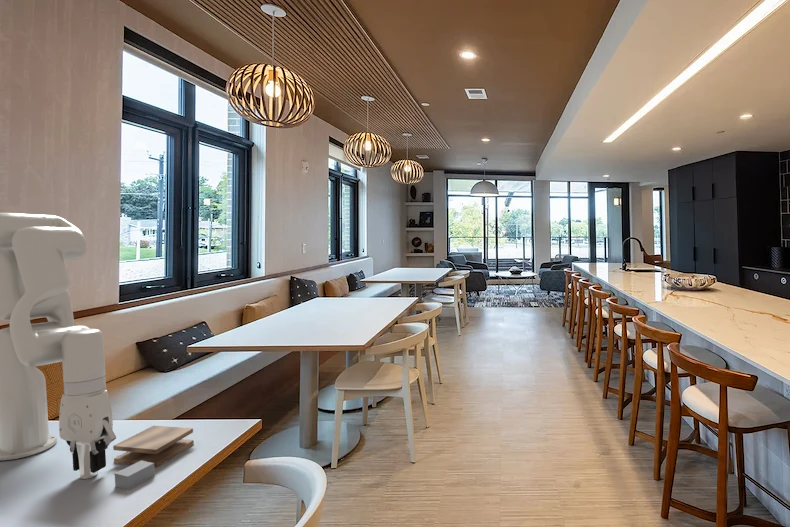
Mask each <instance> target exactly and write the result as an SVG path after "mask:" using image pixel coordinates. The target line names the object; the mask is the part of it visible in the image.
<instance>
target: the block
mask: <svg viewBox="0 0 790 527" xmlns="http://www.w3.org/2000/svg"><path fill="white" fill-rule="evenodd" d="M153 477H155V467H154V463H151V462H146V461H139V462H137V463H135V464H133V465H131V464H130V465H129V466H127V467H125V468H123V469H121V470H119V471H117V472H115V473H114V486H115V488H120V489H124V490H128V491H129V490H131V489H133V488H135V487H137V486H139V485H140V484H142V483H143V482H146V481H147V480H149V479H151V478H153Z"/></svg>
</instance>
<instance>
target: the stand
mask: <svg viewBox="0 0 790 527" xmlns="http://www.w3.org/2000/svg"><path fill="white" fill-rule="evenodd" d="M193 433H194V428H193V427H192V428H191V427H180V426H179V427H177V426H165V425H163V426H162V425H151V426H150V427H148V428H145V429H144V430H142V431H140V432H138V433H136V434H134V435H132V436H130V437H128V438H126V439H124V440H122V441H120V442H118V443H116V444H114V445H112V446H113V447H112V448H113V451H117V452H118V451H119V452H120V451H121V452H123V453H122V454H119V455H118V456H116V457H114V458H113V463H114V464H123V465H130V466H131V465H133V464H135V463H137V462H139V461H146V462H151V463H154V468H158V467H160V466H161V465H162V464H165V463H166V462H167V461H169V460H171V459H173V458H174V457H176V456H177V455H179V454H180V453H182V452H183V451H185V450H186V449H188V448H190V447H191V446H193V445H194V444H195V442H194V440H193V439H186V437H188V436H189V435H191V434H193Z"/></svg>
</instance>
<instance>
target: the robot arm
mask: <svg viewBox="0 0 790 527" xmlns="http://www.w3.org/2000/svg"><path fill="white" fill-rule="evenodd" d="M87 251H88V242H87V240H86V237H85V235H84V233H83V232H82V231H81V229H79V228H78V227H77V226H76V225H74V224H73V223H71V222H69V221H67V219H65V218H63V217H61V216H57V215H53V214H38V213H35V214H34V213H19V212H0V321H4V322H9V326H8V327H4V328H1V329H0V461H11V460H18V459H21V458H25V457H30V456H33V455H36V454H39V453H42V452H45V451H46V450H48V449H50V448H52V447H53V446H55V445H56V443H57V442H58V441H57V440H58V439H57V436H56V435H53V434H49V433H50V432H49V416H48V413H49V412H48V400H47V399H48V397H47V396H48V395H47V383H46V382H47V381H46V380H47V379H46V377H45V374H44V373H43V371H42V370H40V369H39V368H38V367H41V366H46V365H50V364H51V365H52V364H55V363H61V362H62V378H63V379H62V381H63V393H62V395H61V399H60V404H59V413H58V414H59V415H58V417H59V418H58V419H59V421H58V423H59V424H58V431H59V438H60V439H61V440H63V441H65V442H66V444H67V445H68V446H69V451H70V453H71V455H72V470H73V471H76V472H77V471H78V470H79V463H78V454H77V447H76V442H90V444H91V449H92V453H93V454H91V455H90V466H91V472H92V473H95V472H97V471H98V472H99V471H100V470H101V469H104V468H106V466H107V458H106V457H107V456H106V450H107V449H108V447H109V445H110V444H111V443H112V442H114V441H115V440H116V439H117V436H116V433H115V432H114V430H113V425H114V424H113V423H114V422H113V421H114V420H113V413H112V412H113V411H112V406H111V400H110V396H109V392H108V390H107V382H106V381H107V379H106V378H107V377H106V376H107V375H106V359H105V358H106V356H105V341H104V333H103V331H102V330H100V329H98V328H90V327H89V326H87V325H75V320H74V319H75V317H74V312H73V303H72V298H71V294H70V291H69V289H70V287H71V279H70V276H69V273H68V270H67V267H66V263H65V261H79V260H82V259H83V258H84V257H85V256H86V255H87ZM39 318H46V319H47V321H45V322H38V323H31V320H32V319H39ZM98 440H100V443H99V444H98V445H97V441H98Z"/></svg>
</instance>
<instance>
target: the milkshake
mask: <svg viewBox="0 0 790 527" xmlns="http://www.w3.org/2000/svg"><path fill="white" fill-rule="evenodd" d="M99 443H100V440H98V441H97V445H98V444H99ZM76 447H77V454H78V463H79V478H80V479H82V480H86V479H92V478H94V477H96V476H97V475H98V474H99V470H98V471H97V472H95V473H92V472H91V466H90V455H91V454H93V453H92V449H91V444H90V442H76Z"/></svg>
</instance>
